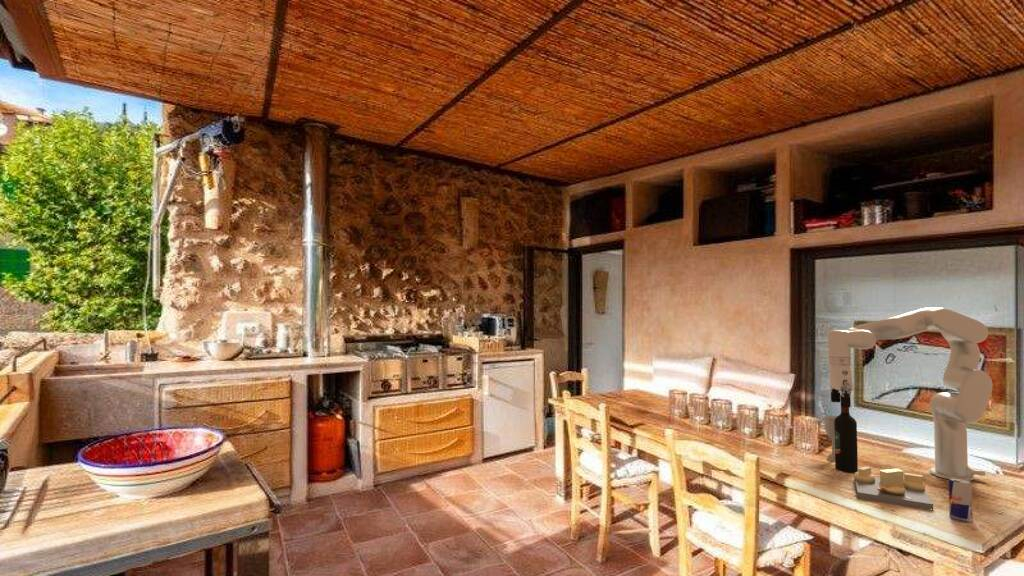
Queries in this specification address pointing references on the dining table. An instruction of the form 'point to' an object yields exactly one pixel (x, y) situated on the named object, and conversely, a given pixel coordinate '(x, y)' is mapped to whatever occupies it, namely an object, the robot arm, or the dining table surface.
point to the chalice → (830, 434)
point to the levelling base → (912, 496)
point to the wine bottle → (845, 442)
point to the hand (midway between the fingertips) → (840, 404)
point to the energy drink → (960, 500)
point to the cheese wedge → (891, 482)
